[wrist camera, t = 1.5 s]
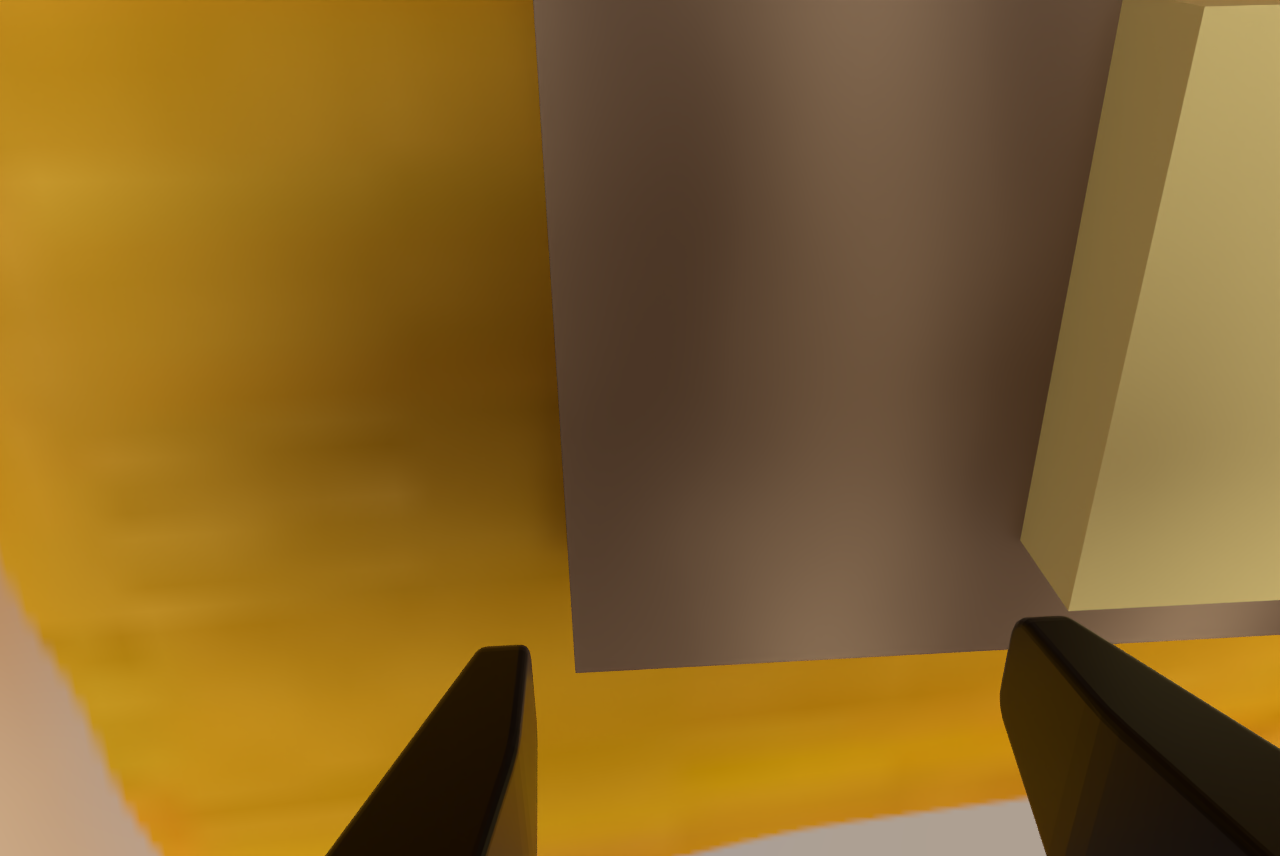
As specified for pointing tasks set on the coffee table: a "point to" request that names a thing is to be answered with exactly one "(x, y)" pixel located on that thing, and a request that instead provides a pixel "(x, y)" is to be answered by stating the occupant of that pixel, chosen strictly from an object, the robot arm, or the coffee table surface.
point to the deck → (816, 320)
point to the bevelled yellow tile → (1171, 326)
